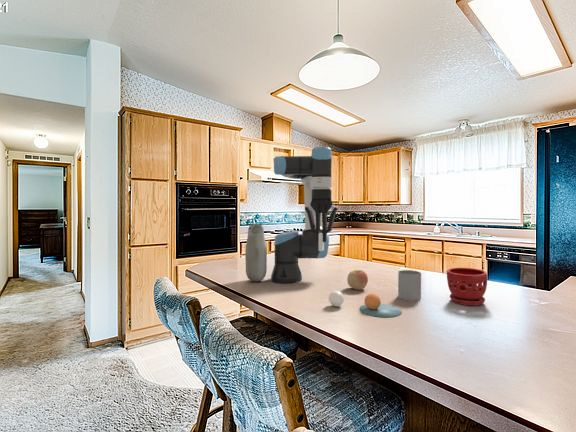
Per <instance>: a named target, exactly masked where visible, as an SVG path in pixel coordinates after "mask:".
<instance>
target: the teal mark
mask: <svg viewBox="0 0 576 432" xmlns="http://www.w3.org/2000/svg"><path fill="white" fill-rule="evenodd" d="M359 311H360V312H361V313H363V315H367V316H371V317H374V318H376V317H377V318H394V317H398V316H399V317H400V316H401V315H402V309H400V308H399V307H396V306H395V305H391V304H384V303H381V304H380V306H379V308H377V309H375V310H371V309H369V308H367V307H366V305H365V304H362V305H361V306H359Z"/></svg>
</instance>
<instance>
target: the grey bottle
mask: <svg viewBox="0 0 576 432" xmlns="http://www.w3.org/2000/svg"><path fill="white" fill-rule="evenodd" d="M244 248H245V249H244V250H245V252H244V254H245V255H244V257H245V258H244V259H245V274H246V277H247V279H248V280H250V282H251V281H252V282H254V283H255V282H261V281H263V280H264V279H265V277H266V275H267V270H268V269H267V268H268V267H267V265H268V264H267V262H268V261H267V259H268V257H267V255H268V254H267V253H268V250H267V243H266V239H265V231H264V226H263V225H262V224H261V223H256V222H255V223H252V224H250V225H249V227H248V230H247V238H246V243H245V247H244Z"/></svg>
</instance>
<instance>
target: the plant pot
mask: <svg viewBox="0 0 576 432" xmlns="http://www.w3.org/2000/svg"><path fill="white" fill-rule="evenodd" d="M446 281H447V286H448V289H449V292H450V294H449V298H450V299H451V300H452V302H454V303H456V304H460V305H465V306H472V307H473V306H474V307H476V306H480V305H483V304H484V303H485V301H486V298H485V297H484V296H485V294H486V291H487V287H488V273H487V272H486V271H485V270H482V269H478V268H472V267H451V268H449V269H448V268H447V270H446Z"/></svg>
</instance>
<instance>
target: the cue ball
mask: <svg viewBox="0 0 576 432" xmlns="http://www.w3.org/2000/svg"><path fill="white" fill-rule="evenodd" d="M344 301H345V296H344V294H343V293H342V292H341V291H339V290H333V291H332V292H331V293H329V296H328V302H329V303H330V305H331V306H333V307H335V308H337V307H340V306H342V305H343V304H344Z"/></svg>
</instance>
